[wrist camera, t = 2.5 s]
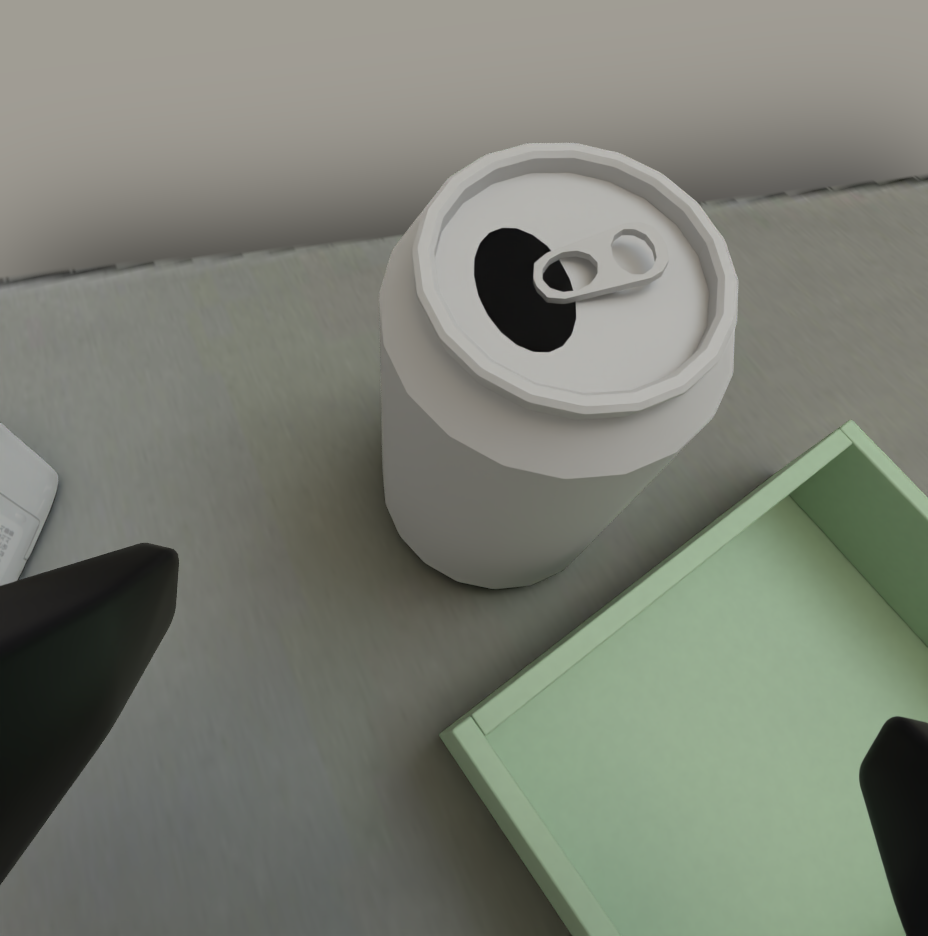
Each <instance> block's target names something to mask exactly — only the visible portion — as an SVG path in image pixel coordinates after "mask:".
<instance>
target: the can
mask: <svg viewBox="0 0 928 936" xmlns="http://www.w3.org/2000/svg"><path fill="white" fill-rule="evenodd" d="M737 308H738V278H737V275H736V272H735V269H734V266H733V263H732V260H731V257H730V254H729V251H728V248H727V245H726V242H725V240H724V238H723V237H722V235H721V234H720V233H719V231H718V230H717V228H716V227H715V226H714V224H713V223H712V222H711V220H710V219H709V217H708V216H707V215H706V213H705V212H704V210H703V209H702V208H701V206H700V205H699V204H698V203H697V202H696V201H695V200H694V199H693V198H691V197H690V196H689V195H688V194H686V193H685V192H684V191H683V190H682V189H680V188H679V187H678V186H677V185H675V184H674V183H673V182H672V181H671V180H669V179H668V178H667V177H666V176H664V175H663V174H662V173H660V172H658V171H656V170H654V169H652V168H649V167H648V166H646V165H643V164H641V163H639V162H637V161H635V160H633V159H631V158H629V157H627V156H625V155H623V154H621V153H617V152H613V151H608V150H604V149H600V148H595V147H591V146H586V145H582V144H577V143H527V144H524V145H520V146H516V147H512V148H509V149H505V150H501V151H498V152H495V153H490V154H487V155H484V156H482V157H481V158H479V159H477V160H476V161H474V162H473V163H471V164H470V165H468V166H466V167H465V168H463V169H462V170H460V171H459V172H457V173H455V174H454V175H452V176H451V177H449V178H448V179H447V180H446V181H445V183H444V184H443V185H442V187H441V188H440V189H439V191H438V192H437V193H436V194H435V196H434V197H433V198H432V200H431V201H430V202H429V203H428V205H427V206H426V207H425V209H424V210H423V212H422V213H421V214H420V215H419V216H418V217H417V219H416V220H415V222H414V223H413V224H412V225H411V226H410V228H409V229H408V230H407V232H406V233H405V234H404V235H403V237H402V238H401V239H400V241H399V242H398V243H397V244H396V246H395V247H394V248H393V250H392V252H391V256H390V259H389V262H388V266H387V269H386V273H385V276H384V279H383V283H382V286H381V290H380V293H379V325H380V372H381V419H382V466H383V481H384V492H385V504H386V506H387V508H388V511H389V513H390V515H391V517H392V519H393V522H394V524H395V526H396V528H397V531H398V533H399V535H400V537H401V538H402V539H403V540H404V541H405V542H406V543H407V544H408V545H409V546H410V548H411V549H412V550H413V551H414V552H415V553H416V554H417V555H418V556H419V557H420V558H421V560H422V561H423V562H424V563H426V564H427V565H429V566H431V567H433V568H434V569H436V570H438V571H440V572H441V573H443V574H445V575H447V576H448V577H450V578H452V579H454V580H455V581H457V582H462V583H467V584H471V585H476V586H481V587H485V588H490V589H502V588H511V587H521V586H530V585H533V584H535V583H537V582H539V581H541V580H544V579H546V578H548V577H550V576H552V575H554V574H557V573H559V572H561V571H563V570H564V569H565V568H566V567H567V566H568V565H569V564H570V563H571V562H572V561H573V560H574V559H575V558H576V557H577V556H578V555H579V554H581V553H582V552H583V551H584V550H585V549H586V548H587V547H588V546H589V545H590V544H591V543H592V542H593V541H594V540H595V539H596V538H597V536H598V535H599V534H600V533H601V532H602V531H603V530H604V529H605V528H606V527H607V526H608V525H609V524H610V523H611V522H612V521H613V520H614V519H615V518H616V517H617V516H618V515H619V514H620V513H621V512H622V511H623V510H624V509H625V508H626V507H627V506H628V505H629V504H630V503H631V502H632V501H633V499H634V498H635V497H636V496H637V495H638V494H639V493H640V492H641V491H642V490H643V489H644V488H645V487H646V486H647V485H648V484H649V483H650V482H651V481H652V480H653V479H654V478H655V477H656V476H657V475H658V474H659V473H660V472H661V471H662V470H663V469H664V468H665V467H666V466H667V465H668V464H669V462H670V461H671V460H672V459H673V458H674V457H675V456H676V455H677V454H678V453H679V452H680V451H681V450H682V449H683V448H684V447H685V446H686V445H687V444H688V443H689V442H690V441H691V440H692V439H693V438H694V437H695V436H696V435H697V434H698V433H699V432H700V431H701V430H702V429H703V428H704V427H705V425H706V424H707V423H708V422H709V421H710V420H711V419H712V418H713V417H714V415H715V413H716V411H717V409H718V406H719V404H720V402H721V400H722V397H723V395H724V393H725V391H726V388H727V386H728V384H729V382H730V379H731V377H732V375H733V366H734V339H735V326H736V324H737Z"/></svg>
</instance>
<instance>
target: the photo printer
mask: <svg viewBox="0 0 928 936" xmlns="http://www.w3.org/2000/svg"><path fill="white" fill-rule="evenodd" d="M57 486H58V474H57V473H56V471H55V470H54V469H53V468H52V467H51V466H50V465H49V464H48V463H47V462H45V461H44V460H43V459H42V458H41V457H40V456H38V455H37V454H36V453H35V452H34V451H33V450H32V449H30V448H29V447H28V446H27V445H26V444H25V443H23V442H22V441H21V440H20V439H19V438H18V437H16V436H15V435H14V434H13V433H12V432H11V431H9V430H8V429H7V428H6V427H5V426H4V425H3V424H2V423H1V422H0V586H2V585H5V584H8V583H11V582H15V581H17V580H18V578H19V576H20V574H21V572H22V570H23V568H24V566H25V564H26V561H27V560H28V558H29V556H30V554H31V552H32V550H33V548H34V545H35V543H36V541H37V539H38V536H39V534H40V532H41V530H42V527H43V525H44V523H45V521H46V518H47V516H48V514H49V511H50V509H51V506H52V503H53V500H54V497H55V494H56V491H57Z"/></svg>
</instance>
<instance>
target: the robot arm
mask: <svg viewBox="0 0 928 936" xmlns="http://www.w3.org/2000/svg"><path fill="white" fill-rule="evenodd" d="M178 569H179V558H178V554H177V552H176V551H175V550H174V549H171V548H167V547H162V546H158V545H154V544H150V543H140V544H136V545H133V546H130V547H127V548H123V549H120V550H117V551H113V552H110V553H107V554H104V555H100V556H97V557H94V558H90V559H87V560H84V561H81V562H77V563H74V564H71V565H67V566H64V567H61V568H57V569H54V570H51V571H48V572H44V573H41V574H38V575H34V576H31V577H28V578H25V579H21V580H18V581H15V582H11V583H8V584H5V585H2V586H0V885H1V883H2V882H3V881H4V879H5V878H6V876H7V875H8V874H9V872H10V871H11V869H12V868H13V867H14V865H15V864H16V862H17V861H18V860H19V858H20V857H21V855H22V854H23V853H24V851H25V850H26V848H27V847H28V846H29V844H30V843H31V841H32V840H33V839H34V837H35V836H36V835H37V833H38V832H39V830H40V829H41V828H42V826H43V825H44V823H45V822H46V821H47V819H48V818H49V816H50V815H51V814H52V812H53V811H54V809H55V808H56V807H57V805H58V804H59V802H60V801H61V800H62V798H63V797H64V795H65V794H66V793H67V791H68V790H69V789H70V787H71V786H72V784H73V783H74V782H75V780H76V779H77V777H78V776H79V775H80V773H81V772H82V770H83V769H84V768H85V766H86V765H87V763H88V762H89V761H90V759H91V758H92V756H93V755H94V754H95V752H96V751H97V749H98V748H99V747H100V745H101V744H102V742H103V741H104V739H105V738H106V736H107V735H108V733H109V732H110V730H111V729H112V727H113V725H114V724H115V722H116V720H117V718H118V717H119V715H120V713H121V712H122V710H123V708H124V706H125V705H126V703H127V701H128V699H129V697H130V696H131V694H132V692H133V690H134V689H135V687H136V685H137V683H138V681H139V680H140V678H141V676H142V674H143V673H144V671H145V669H146V667H147V665H148V664H149V662H150V660H151V658H152V657H153V655H154V653H155V651H156V649H157V648H158V646H159V644H160V642H161V641H162V639H163V637H164V635H165V633H166V632H167V630H168V628H169V626H170V624H171V622H172V619H173V616H174V613H175V608H176V597H177V583H178ZM859 783H860V787H861V791H862V794H863V798H864V801H865V805H866V808H867V812H868V815H869V818H870V822H871V825H872V829H873V832H874V836H875V839H876V843H877V846H878V849H879V853H880V856H881V860H882V863H883V867H884V870H885V873H886V877H887V880H888V884H889V887H890V890H891V894H892V897H893V900H894V903H895V906H896V909H897V912H898V915H899V918H900V920H901V923H902V926H903V929H904V931H905V934H906V936H928V723H926V722H923V721H918V720H914V719H910V718H905V717H900V716H896V717H892V718H890V719H888V720H887V721H886V722H885V723H884V725H883V726H882V728H881V730H880V731H879V733H878V735H877V737H876V738H875V740H874V742H873V743H872V745H871V747H870V749H869V750H868V752H867V754H866V755H865V757H864V759H863V761H862V763H861V766H860V769H859Z"/></svg>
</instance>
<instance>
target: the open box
mask: <svg viewBox="0 0 928 936" xmlns="http://www.w3.org/2000/svg"><path fill="white" fill-rule="evenodd" d="M896 716H900V717H905V718H910V719H914V720H918V721H923V722H926V723H928V497H927V496H926V495H925V494H924V493H923V492H922V491H921V490H920V489H919V488H918V487H917V486H916V485H915V484H914V483H913V482H912V481H911V480H910V479H909V478H908V477H907V476H906V475H905V474H904V473H903V472H902V471H901V470H900V469H899V468H898V467H897V466H896V465H895V464H894V463H893V462H892V460H891V459H890V458H889V457H888V456H887V455H886V454H885V453H884V452H883V451H882V450H881V449H880V448H879V447H878V446H877V445H876V444H875V443H874V442H873V441H872V440H871V439H870V438H869V437H868V436H867V435H866V434H865V433H864V432H863V431H862V430H861V429H860V428H859V427H858V426H857V425H856V424H855V422H854V421H852V420H849V421H847V422H846V423H845V424H843V425H842V426H840V427H839V428H838V429H836V430H835V431H833V432H832V433H831V434H829V435H828V436H826V437H825V438H824V439H822V440H821V441H820V442H818V443H817V444H815V445H814V446H813V447H811V448H810V449H808V450H807V451H806V452H804V453H803V454H801V455H800V456H799V457H797V458H796V459H794V460H793V461H792V462H790V463H789V464H788V465H786V466H785V467H783V468H782V469H781V470H779V471H778V472H776V473H775V474H774V475H772V476H771V477H770V478H769V479H767V480H766V481H765V482H763V483H762V484H761V485H760V486H758V487H757V488H756V489H754V490H753V491H752V492H751V493H749V494H748V495H747V496H745V497H744V498H743V499H742V500H740V501H739V502H738V503H736V504H735V505H734V506H733V507H731V508H730V509H729V510H727V511H726V512H725V513H723V514H722V515H721V516H720V517H718V518H717V519H716V520H714V521H713V522H712V523H711V524H709V525H708V526H707V527H705V528H704V529H703V530H702V531H700V532H699V533H698V534H696V535H695V536H694V537H693V538H691V539H690V540H689V541H687V542H686V543H685V544H684V545H682V546H681V547H680V548H678V549H677V550H676V551H675V552H673V553H672V554H671V555H669V556H668V557H667V558H665V559H664V560H663V561H662V562H660V563H659V564H658V565H656V566H655V567H654V568H653V569H651V570H650V571H649V572H647V573H646V574H645V575H644V576H642V577H641V578H640V579H638V580H637V581H636V582H635V583H633V584H632V585H631V586H629V587H628V588H627V589H626V590H624V591H623V592H622V593H620V594H619V595H618V596H616V597H615V598H614V599H613V600H611V601H610V602H609V603H607V604H606V605H605V606H604V607H602V608H601V609H600V610H598V611H597V612H596V613H595V614H593V615H592V616H591V617H589V618H588V619H587V620H586V621H584V622H583V623H582V624H580V625H579V626H578V627H577V628H575V629H574V630H573V631H571V632H570V633H569V634H568V635H566V636H565V637H564V638H562V639H561V640H560V641H558V642H557V643H556V644H555V645H553V646H552V647H551V648H549V649H548V650H547V651H546V652H544V653H543V654H542V655H540V656H539V657H538V658H537V659H535V660H534V661H533V662H531V663H530V664H529V665H528V666H526V667H525V668H524V669H522V670H521V671H520V672H519V673H517V674H516V675H515V676H513V677H512V678H511V679H509V680H508V681H507V682H506V683H504V684H503V685H502V686H500V687H499V688H498V689H497V690H495V691H494V692H493V693H491V694H490V695H489V696H488V697H486V698H485V699H484V700H482V701H481V702H480V703H479V704H477V705H476V706H475V707H473V708H472V709H471V710H470V711H468V712H467V713H466V714H464V715H463V716H462V717H461V718H459V719H458V720H457V721H455V722H454V723H453V724H451V725H450V726H449V727H448V728H446V729H445V730H444V731H442V732H441V733H440V734H439V736H440V738H441V739H442V741H443V742H444V744H445V745H446V747H447V748H448V750H449V751H450V753H451V754H452V756H453V757H454V759H455V760H456V762H457V763H458V765H459V766H460V768H461V769H462V771H463V772H464V774H465V775H466V777H467V778H468V780H469V781H470V783H471V784H472V786H473V787H474V789H475V790H476V792H477V793H478V795H479V796H480V798H481V799H482V801H483V802H484V804H485V805H486V807H487V808H488V810H489V811H490V813H491V815H492V816H493V818H494V819H495V821H496V822H497V824H498V825H499V827H500V828H501V830H502V831H503V833H504V834H505V836H506V837H507V839H508V840H509V842H510V843H511V845H512V846H513V848H514V849H515V851H516V852H517V854H518V855H519V857H520V858H521V860H522V861H523V863H524V864H525V866H526V867H527V869H528V870H529V872H530V873H531V875H532V876H533V878H534V879H535V881H536V882H537V884H538V885H539V887H540V888H541V890H542V891H543V893H544V894H545V896H546V897H547V899H548V900H549V902H550V903H551V905H552V906H553V908H554V909H555V911H556V912H557V914H558V915H559V917H560V918H561V920H562V921H563V923H564V924H565V926H566V927H567V929H568V930H569V932H570V933H571V935H572V936H906V934H905V931H904V929H903V926H902V923H901V920H900V918H899V915H898V912H897V909H896V906H895V903H894V900H893V897H892V894H891V890H890V887H889V884H888V880H887V877H886V873H885V870H884V867H883V863H882V860H881V856H880V853H879V849H878V846H877V843H876V839H875V836H874V832H873V829H872V825H871V822H870V818H869V815H868V812H867V808H866V805H865V801H864V798H863V794H862V791H861V787H860V783H859V769H860V766H861V763H862V761H863V759H864V757H865V755H866V754H867V752H868V750H869V749H870V747H871V745H872V743H873V742H874V740H875V738H876V737H877V735H878V733H879V731H880V730H881V728H882V726H883V725H884V723H885V722H886V721H887V720H888V719H890V718H892V717H896Z"/></svg>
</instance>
